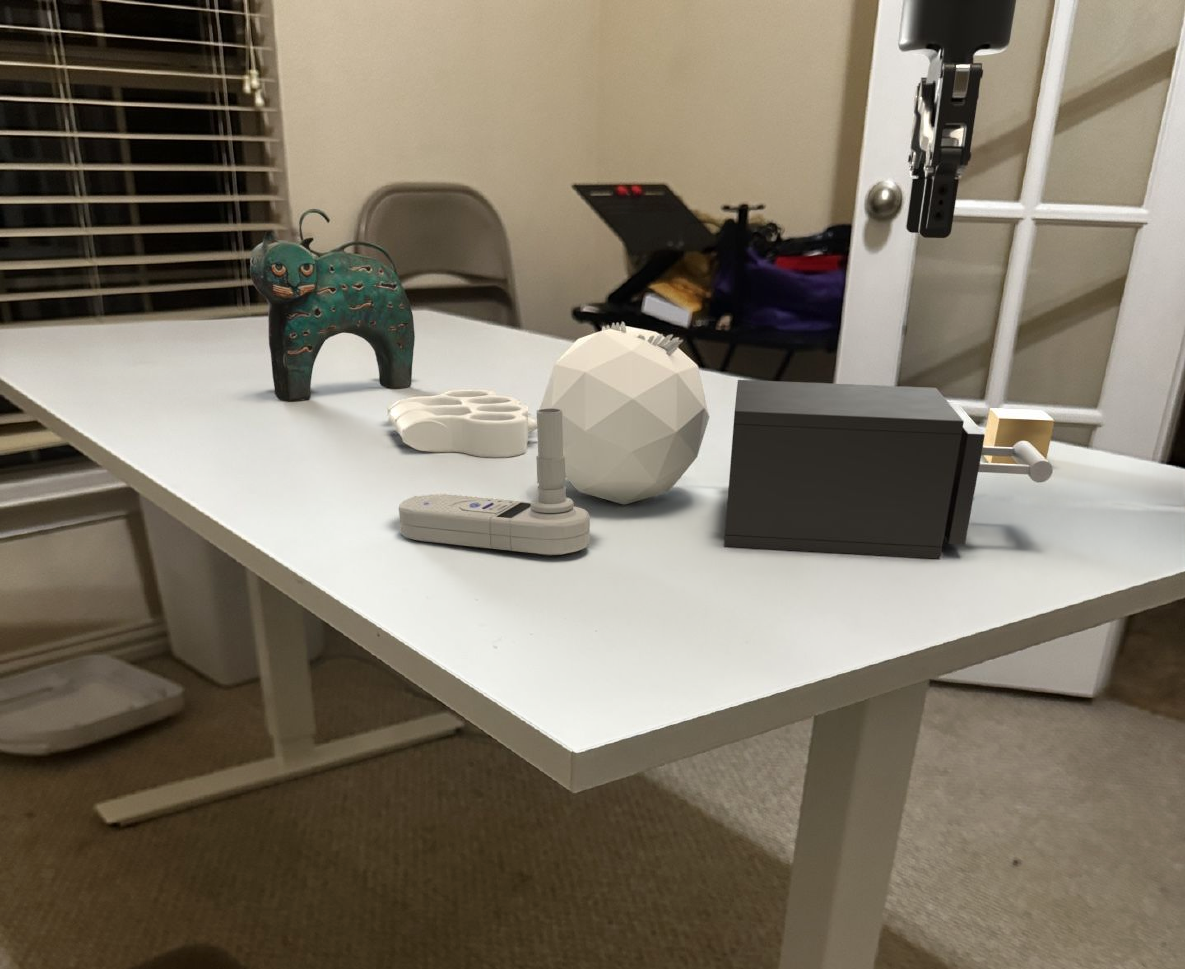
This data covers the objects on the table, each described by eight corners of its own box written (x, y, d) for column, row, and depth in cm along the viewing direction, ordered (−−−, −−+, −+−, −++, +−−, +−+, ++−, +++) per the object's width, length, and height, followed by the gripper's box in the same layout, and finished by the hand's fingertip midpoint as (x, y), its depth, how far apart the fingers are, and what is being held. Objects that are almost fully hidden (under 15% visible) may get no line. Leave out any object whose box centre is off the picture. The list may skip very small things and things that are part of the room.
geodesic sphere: (776, 424, 95) (688, 270, 93) (715, 456, 84) (614, 282, 81) (642, 512, 104) (559, 374, 102) (571, 552, 93) (477, 398, 90)
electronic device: (412, 395, 84) (599, 406, 79) (423, 524, 89) (600, 543, 84) (375, 407, 80) (569, 419, 75) (388, 543, 84) (573, 563, 79)
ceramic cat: (280, 404, 130) (259, 209, 120) (254, 396, 134) (231, 207, 124) (424, 388, 141) (415, 209, 132) (396, 381, 146) (385, 207, 136)
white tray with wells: (384, 424, 121) (517, 419, 125) (409, 461, 106) (559, 455, 110) (382, 391, 120) (516, 387, 123) (407, 425, 104) (559, 419, 108)
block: (1032, 462, 111) (1042, 410, 109) (1043, 474, 107) (1054, 420, 104) (980, 460, 112) (989, 408, 109) (989, 472, 107) (999, 417, 105)
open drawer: (1012, 505, 93) (1032, 405, 89) (1046, 549, 82) (1071, 438, 78) (763, 492, 95) (772, 394, 91) (764, 534, 84) (774, 424, 80)
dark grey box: (917, 509, 95) (936, 387, 90) (940, 558, 83) (964, 420, 78) (728, 500, 96) (737, 379, 91) (724, 546, 84) (734, 410, 79)
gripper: (1042, -49, 70) (994, 241, 78) (1001, -16, 82) (963, 232, 90) (919, -48, 71) (883, 239, 79) (896, -15, 83) (867, 230, 91)
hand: (926, 235), depth 84 cm, fingers open, 8 cm apart
